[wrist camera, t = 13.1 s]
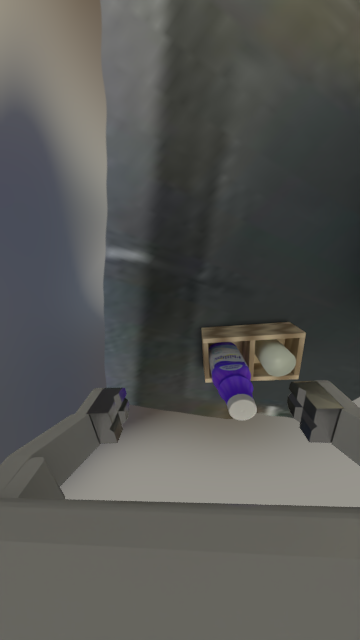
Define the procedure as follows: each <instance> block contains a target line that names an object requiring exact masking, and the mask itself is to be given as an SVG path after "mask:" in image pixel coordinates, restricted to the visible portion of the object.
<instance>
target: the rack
mask: <svg viewBox="0 0 360 640" xmlns="http://www.w3.org/2000/svg"><path fill="white" fill-rule="evenodd" d="M201 331H202V348H203V365H204V374H205V382H213V381H212V375H211V369H210V364H209V354H208V349H209V347H210V346H211V345H212V344H215V343H218V342H231V343H233V344H235V345H236V346H237V348H238V349H239V351H240V353H241V355H242V356H243V358H244V360H245V362H246V364H247V366H248V368H249V371H250V373H251V379H250V381H259V380H287V379H298V378H299V372H300V366H301V360H302V354H303V348H304V342H305V335H306V333H305V332H304V331H302V330H301V329H299V328H298V327H296V326H295V325H293V324H292V323H290V322H281V323H266V324H251V325H236V326H220V327H205V328H201ZM270 339H277V340H278V341H279V342H280V343H281V344H282V345H283V346H285V347H286V348H287V349H288V350H289V351H290V352H291V353H292V354H293V355H294V357H295V359H296V365H295V367H294V369H293V370H292V371H291V372H290V373H288V374H287V375H284V376H279V377H276V376H272V375H270V374H268V373H267V372H266V371H265V369H264V368H263V366H262V365H261V363H260V361H259V360H258V358H257V357H256V355H255V340H270Z"/></svg>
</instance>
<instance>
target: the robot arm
mask: <svg viewBox="0 0 360 640" xmlns="http://www.w3.org/2000/svg"><path fill="white" fill-rule="evenodd" d="M289 389H290V391H291V392H292V393H291V394H290V395H289V396H288V400H287V403H288V408H289V410H290V413H291V414H292V416H293V418H294V419H296V420H297V421H299V422H300V429H301V430H302V432H303V433H304V435H305V436H306V438H307V439H308V441H309V442H323V443H324V442H325V443H332V444H333V445H334V446H335V447H336V448H338V449H339V450H340V451H341V452H343V453H344V454H345V455H347V456H348V457H349V458H350V459H352V460H353V461H354V462H355V463H357V464H358V465H359V466H360V408H359V407H358V406H357V405H356V404H355V403H353V402H352V401H351V400H350V399H349V398H348V397H347V396H346V395H344V394H343V393H342V392H341V391H340V390H339V389H338V388H336V387H335V386H334V385H333V384H332V383H331V382H329V381H327V380H318V381H300V382H291V383H290V385H289ZM125 396H126V391H125V388H95V389H94V390H93V391H92V392H91V393H90V395H89V396H88V397H87V399H86V400H85V401H84V403H83V404H82V405H81V407H80V408H79V409H78V411H77V412H76V413H75V414H74V415H70V416H69V417H67V418H66V419H64V420H62V421H61V422H60V423H58V424H56V425H55V426H53V427H52V428H50V429H49V430H47V431H46V432H44V433H43V434H41V435H40V436H38V437H37V438H35V439H34V440H32V441H31V442H29V443H27V444H26V445H25V446H23V447H22V448H20V449H18V450H17V451H16V452H14V453H13V454H11V455H9V456H8V457H7V458H6V460H4V462H3V463H2V464H1V465H0V640H360V507H327V506H291V505H256V504H255V505H254V504H219V503H180V502H179V503H178V502H177V503H176V502H142V501H105V500H68V499H65V496H64V494H63V492H62V490H61V489H60V486H61V485H62V484H63V483H64V482H65V481H66V479H68V477H69V476H71V474H72V473H73V472H74V471H75V470H76V469H77V468H78V467H79V466H80V465H81V464H82V463H83V462H84V461H85V460H86V459H87V457H88V456H90V454H91V453H92V452H93V451H94V450H95V449H96V448H97V447H98V446H99V445H100V444H103V443H104V444H105V443H118V440H119V438H120V435H121V433H122V430H123V428H122V424H123V423H124V422H126V420H127V418H128V414H129V402H128V400H127V399H126V398H125Z"/></svg>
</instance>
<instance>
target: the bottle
mask: <svg viewBox="0 0 360 640" xmlns="http://www.w3.org/2000/svg"><path fill="white" fill-rule="evenodd" d="M208 354H209V364H210V369H211V375H212V381H213V383H214V385H215V387H216V388H217V389H218V392H219V394H220V396H221V398H222V399H224V400H225V401H226V404H227V407H228V410H229V413H230V415H231V416H232V417H233V418H234V419H237V420H248V419H250V418H252V417H253V416H254V415H255V414H256V411H257V407H256V405H255V402H254V400H253V397H252V392H253V385H252V383H251V382H250V379H251V373H250V371H249V368H248V366H247V364H246V362H245V360H244V358H243V356H242V355H241V353H240V351H239V349H238V348H237V346H236V345H235V344H233V343H231V342H218V343H215V344H212V345H211V346H210V347H209V349H208Z"/></svg>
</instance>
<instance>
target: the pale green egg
mask: <svg viewBox="0 0 360 640" xmlns="http://www.w3.org/2000/svg"><path fill="white" fill-rule="evenodd" d="M255 355H256V357H257V358H258V360H259V361H260V363H261V365H262V366H263V368H264V369H265V371H266V372H267V373H268V374H270V375H272V376H276V377H279V376H284V375H287V374H288V373H290V372H291V371H292V370H293V369H294V367H295V365H296V359H295V357H294V355H293V354H292V353H291V352H290V351H289V350H288V349H287V348H286V347H285V346H283V345H282V344H281V343H280V342H279V341H278V340H277V339H270V340H255Z"/></svg>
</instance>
